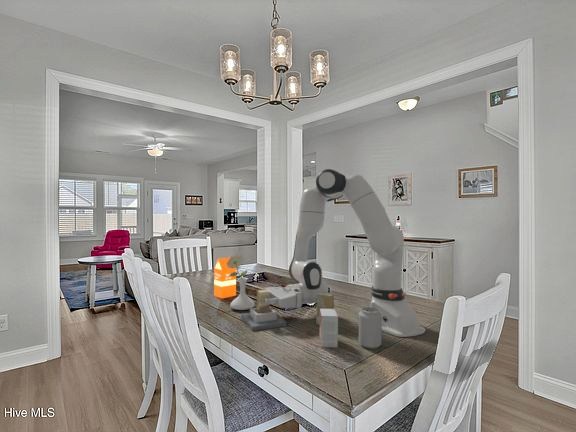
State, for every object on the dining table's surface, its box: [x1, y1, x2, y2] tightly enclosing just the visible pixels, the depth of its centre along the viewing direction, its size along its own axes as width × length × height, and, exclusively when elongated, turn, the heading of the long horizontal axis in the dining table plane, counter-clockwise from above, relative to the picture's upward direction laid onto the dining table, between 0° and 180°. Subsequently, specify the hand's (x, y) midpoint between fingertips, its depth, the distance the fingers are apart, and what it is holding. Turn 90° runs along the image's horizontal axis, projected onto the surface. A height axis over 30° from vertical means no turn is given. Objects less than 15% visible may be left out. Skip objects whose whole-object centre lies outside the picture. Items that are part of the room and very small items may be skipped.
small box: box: [318, 308, 339, 348], centre depth 107 cm, size 8×6×10 cm
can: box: [358, 306, 383, 350], centre depth 105 cm, size 8×8×12 cm
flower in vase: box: [227, 254, 256, 311], centre depth 144 cm, size 13×11×25 cm
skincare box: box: [315, 291, 335, 326], centre depth 125 cm, size 6×4×12 cm
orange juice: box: [213, 256, 237, 299], centre depth 166 cm, size 8×9×20 cm
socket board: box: [240, 306, 288, 332], centre depth 127 cm, size 16×14×4 cm
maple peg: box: [256, 288, 271, 314], centre depth 127 cm, size 4×4×11 cm
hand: (261, 298), depth 127 cm, fingers open, 8 cm apart
